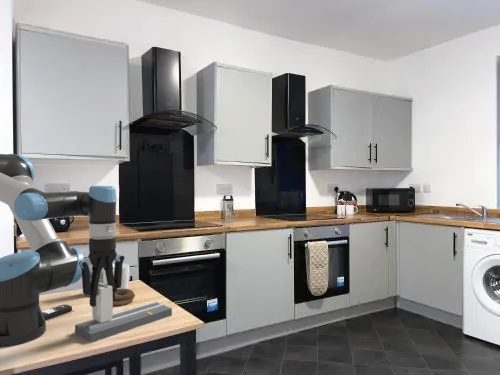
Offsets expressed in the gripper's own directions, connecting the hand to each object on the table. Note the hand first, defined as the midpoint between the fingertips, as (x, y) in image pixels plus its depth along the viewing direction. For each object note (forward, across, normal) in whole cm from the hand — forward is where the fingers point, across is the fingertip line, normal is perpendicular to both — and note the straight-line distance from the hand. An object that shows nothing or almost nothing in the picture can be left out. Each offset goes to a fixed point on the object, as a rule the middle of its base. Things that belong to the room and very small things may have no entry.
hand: (102, 314), depth 111 cm
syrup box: (+5, +16, +37) cm, 41 cm away
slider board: (+5, +8, 0) cm, 9 cm away
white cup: (+5, +26, +35) cm, 44 cm away
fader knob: (+2, 0, 0) cm, 2 cm away
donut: (+5, +18, +21) cm, 28 cm away
